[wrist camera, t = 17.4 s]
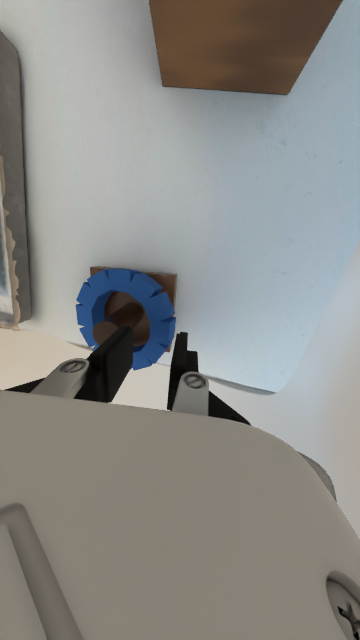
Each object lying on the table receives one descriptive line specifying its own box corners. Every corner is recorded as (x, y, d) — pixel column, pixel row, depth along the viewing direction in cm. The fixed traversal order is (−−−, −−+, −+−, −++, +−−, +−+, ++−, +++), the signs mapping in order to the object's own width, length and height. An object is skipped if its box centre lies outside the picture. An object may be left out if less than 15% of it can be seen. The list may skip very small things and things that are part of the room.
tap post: (177, 274, 18) (168, 283, 11) (171, 346, 21) (161, 388, 14) (97, 266, 18) (39, 270, 11) (102, 338, 22) (59, 376, 15)
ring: (180, 276, 14) (174, 277, 13) (170, 369, 17) (164, 380, 16) (87, 263, 16) (71, 263, 15) (93, 349, 19) (81, 357, 18)
